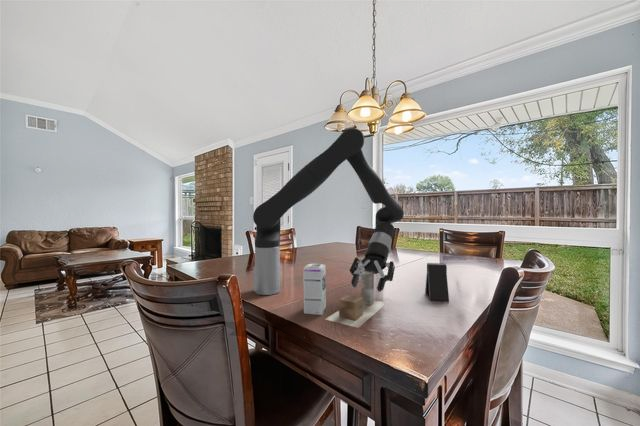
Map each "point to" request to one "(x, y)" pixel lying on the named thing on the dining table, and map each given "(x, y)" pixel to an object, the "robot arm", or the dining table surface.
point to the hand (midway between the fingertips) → (366, 288)
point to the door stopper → (437, 282)
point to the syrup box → (314, 288)
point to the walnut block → (351, 307)
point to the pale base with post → (368, 303)
